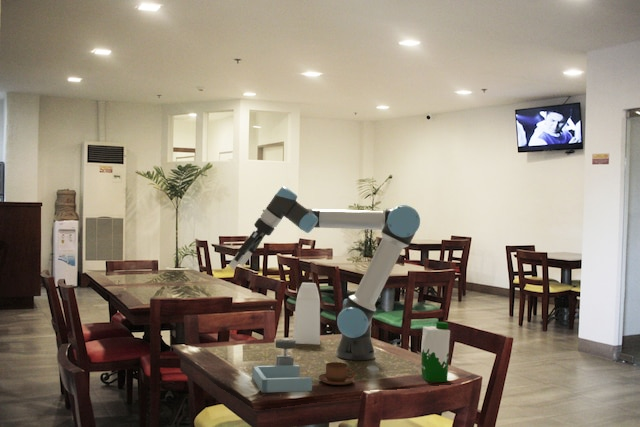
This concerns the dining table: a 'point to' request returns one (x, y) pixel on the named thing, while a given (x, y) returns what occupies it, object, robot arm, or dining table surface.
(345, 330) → the robot arm
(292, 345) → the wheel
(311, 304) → the milk
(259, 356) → the dining table surface
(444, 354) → the milk carton
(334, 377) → the cup and saucer
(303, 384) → the light blue tray
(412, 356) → the dining table surface
